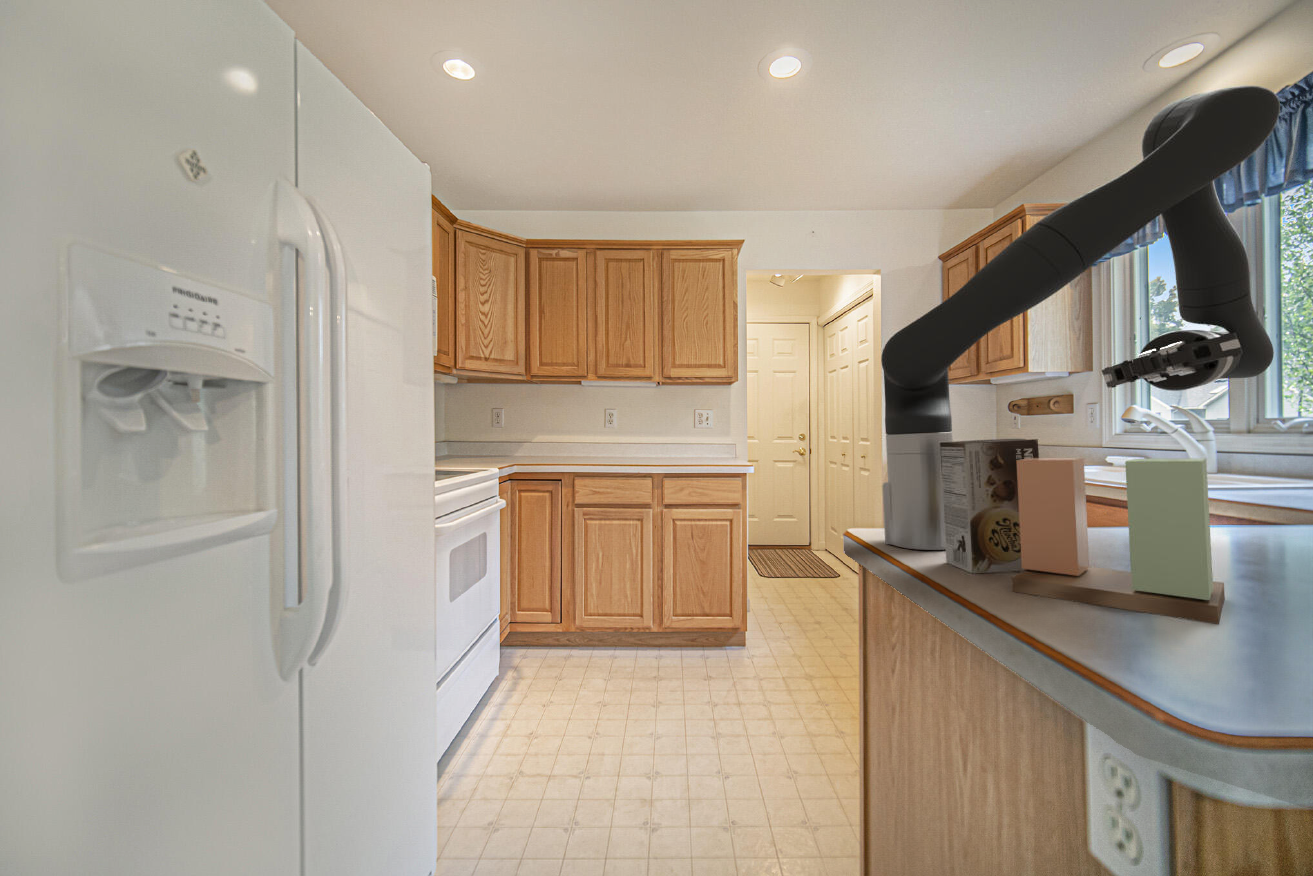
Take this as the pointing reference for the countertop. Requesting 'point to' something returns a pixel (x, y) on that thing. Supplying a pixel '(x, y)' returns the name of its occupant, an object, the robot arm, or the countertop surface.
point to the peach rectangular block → (1053, 515)
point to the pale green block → (1169, 527)
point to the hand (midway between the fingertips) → (1143, 365)
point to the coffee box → (983, 503)
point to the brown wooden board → (1118, 593)
